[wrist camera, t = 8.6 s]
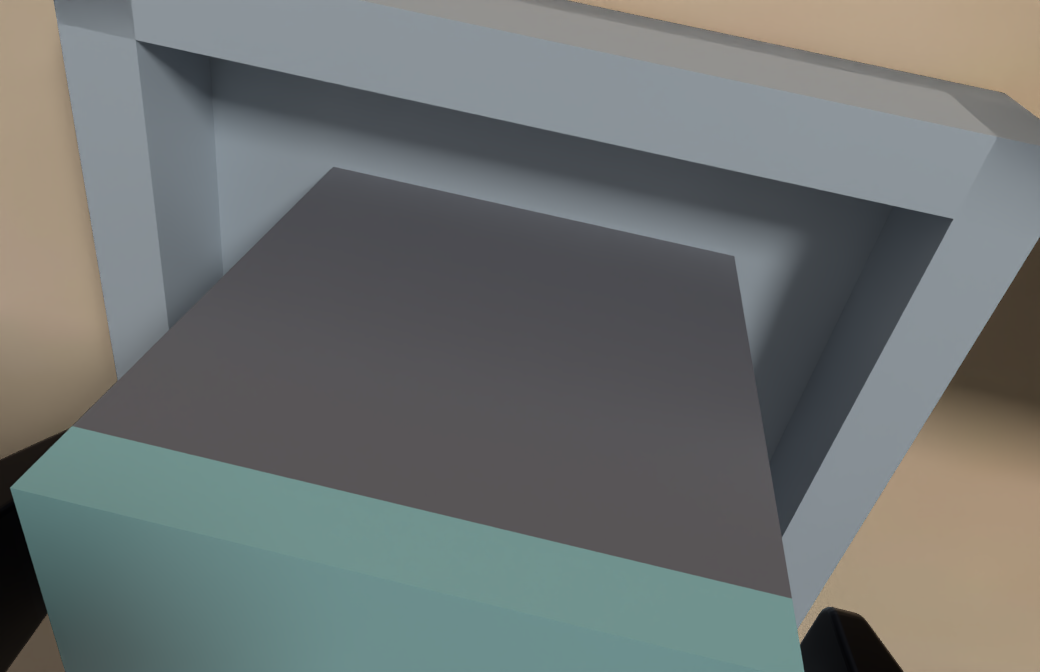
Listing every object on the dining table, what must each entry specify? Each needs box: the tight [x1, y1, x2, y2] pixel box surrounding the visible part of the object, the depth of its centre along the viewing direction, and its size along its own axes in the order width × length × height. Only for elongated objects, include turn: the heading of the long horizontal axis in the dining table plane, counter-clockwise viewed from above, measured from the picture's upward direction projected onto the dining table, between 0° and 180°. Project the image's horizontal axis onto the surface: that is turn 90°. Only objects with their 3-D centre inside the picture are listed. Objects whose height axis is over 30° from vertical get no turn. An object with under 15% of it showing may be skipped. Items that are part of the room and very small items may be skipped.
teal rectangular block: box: [10, 167, 804, 672], centre depth 9 cm, size 7×5×6 cm
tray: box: [54, 0, 1040, 629], centre depth 11 cm, size 12×10×2 cm
